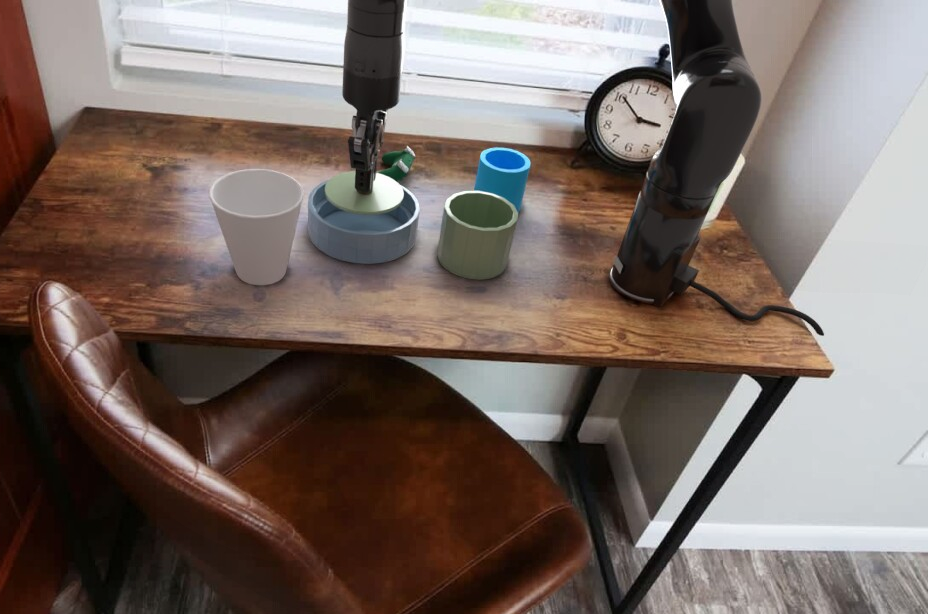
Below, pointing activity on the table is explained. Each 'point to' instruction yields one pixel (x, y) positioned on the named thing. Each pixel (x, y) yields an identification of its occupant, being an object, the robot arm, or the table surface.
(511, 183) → the mug
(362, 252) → the bowl
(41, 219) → the table surface
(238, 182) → the cup
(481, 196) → the canister
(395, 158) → the gaming controller
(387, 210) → the lid
